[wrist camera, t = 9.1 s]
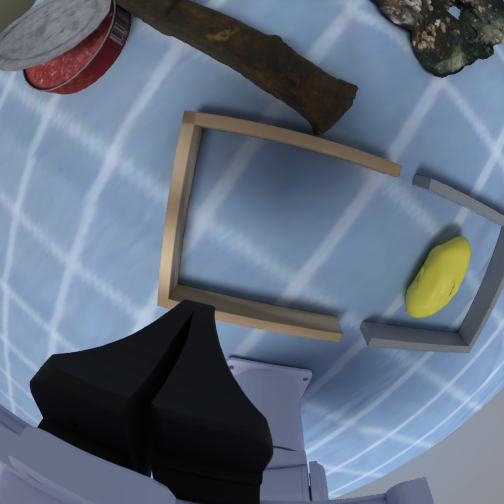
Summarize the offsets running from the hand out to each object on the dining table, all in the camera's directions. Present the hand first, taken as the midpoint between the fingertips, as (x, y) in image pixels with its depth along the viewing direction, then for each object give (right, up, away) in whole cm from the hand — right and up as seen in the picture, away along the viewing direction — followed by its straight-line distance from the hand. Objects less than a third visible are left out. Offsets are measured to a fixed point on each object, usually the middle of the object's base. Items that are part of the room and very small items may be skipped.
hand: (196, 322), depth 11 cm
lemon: (+18, +1, +10) cm, 20 cm away
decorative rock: (+19, +26, +1) cm, 32 cm away
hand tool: (0, +17, +5) cm, 18 cm away
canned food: (-12, +21, +4) cm, 24 cm away
